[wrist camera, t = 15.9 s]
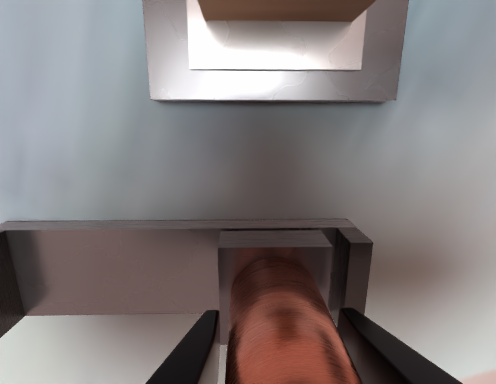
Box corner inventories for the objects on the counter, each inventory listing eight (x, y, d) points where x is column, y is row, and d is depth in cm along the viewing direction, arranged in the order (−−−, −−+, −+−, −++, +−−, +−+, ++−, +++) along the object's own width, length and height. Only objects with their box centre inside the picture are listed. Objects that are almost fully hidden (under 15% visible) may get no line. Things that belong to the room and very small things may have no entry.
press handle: (320, 230, 11) (429, 376, 5) (314, 315, 12) (397, 533, 6) (220, 231, 11) (193, 381, 4) (223, 316, 12) (202, 539, 5)
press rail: (346, 219, 12) (373, 242, 10) (339, 296, 13) (361, 335, 11) (5, 221, 12) (-55, 246, 9) (24, 301, 13) (-27, 343, 10)
